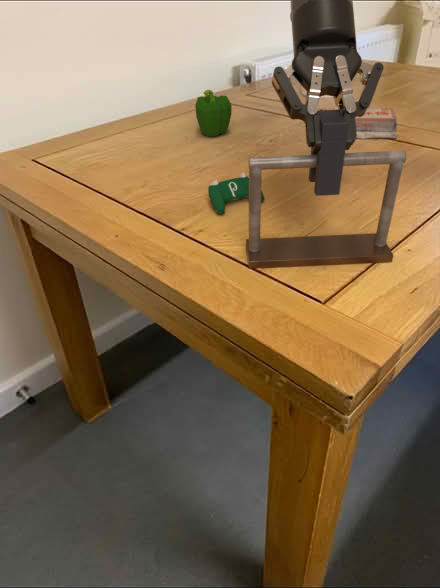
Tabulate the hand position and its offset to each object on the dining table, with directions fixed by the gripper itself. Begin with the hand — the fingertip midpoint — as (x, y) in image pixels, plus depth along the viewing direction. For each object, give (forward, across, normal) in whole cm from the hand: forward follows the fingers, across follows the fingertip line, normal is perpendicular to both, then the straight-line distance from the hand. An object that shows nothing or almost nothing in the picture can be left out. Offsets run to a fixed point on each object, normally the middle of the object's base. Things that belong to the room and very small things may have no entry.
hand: (332, 147), depth 56 cm
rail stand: (+10, 0, +13) cm, 17 cm away
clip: (+3, 0, +6) cm, 6 cm away
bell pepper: (-27, -14, +51) cm, 59 cm away
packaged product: (-25, +18, +48) cm, 57 cm away
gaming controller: (-2, -11, +25) cm, 28 cm away
